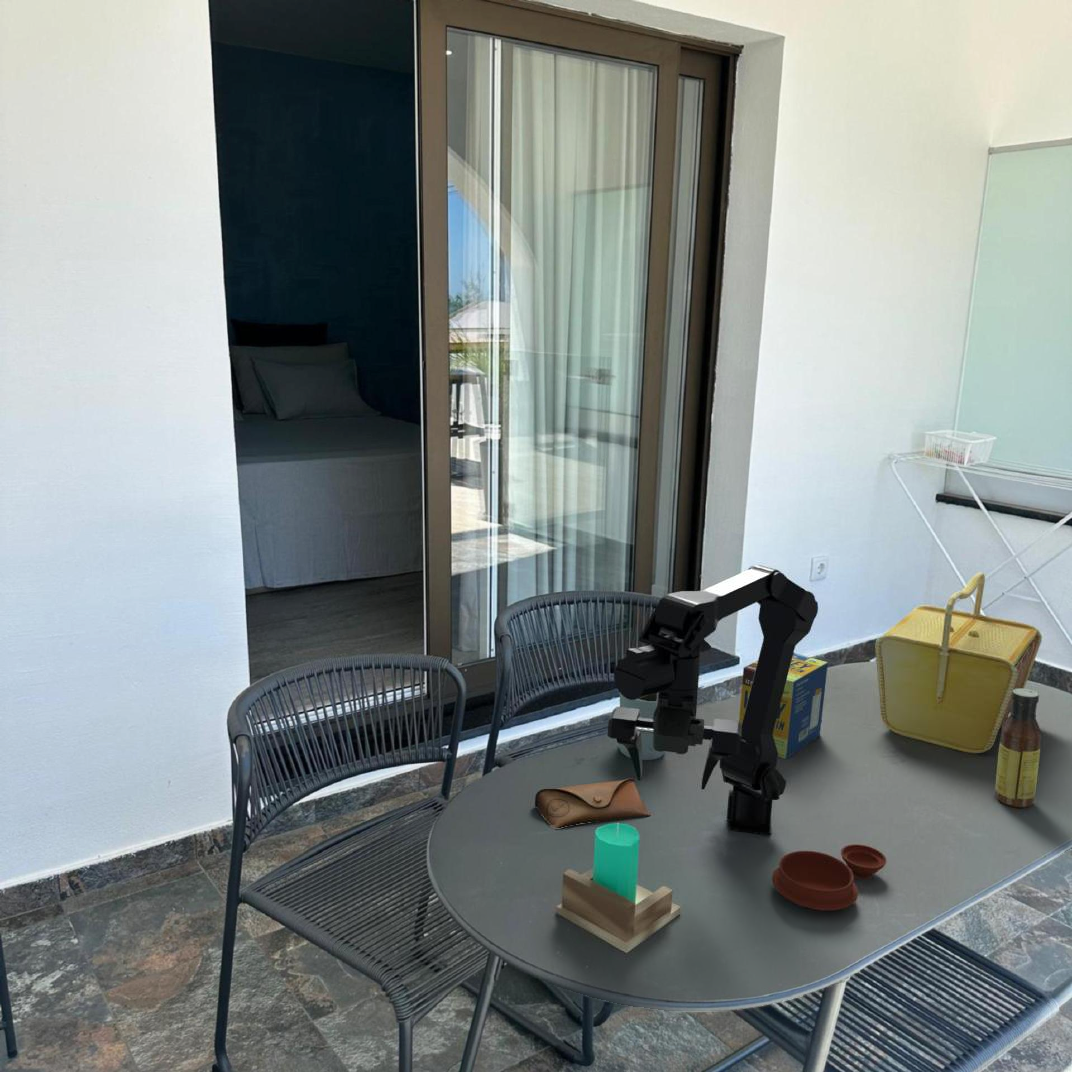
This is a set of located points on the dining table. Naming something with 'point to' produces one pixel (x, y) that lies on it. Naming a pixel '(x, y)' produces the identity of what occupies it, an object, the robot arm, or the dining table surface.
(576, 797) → the sunglasses case
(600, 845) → the candle
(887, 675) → the picnic basket
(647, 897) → the dock
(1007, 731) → the sauce bottle
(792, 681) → the protein box
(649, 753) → the pale green cup
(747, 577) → the robot arm
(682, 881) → the dining table surface
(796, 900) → the pottery
